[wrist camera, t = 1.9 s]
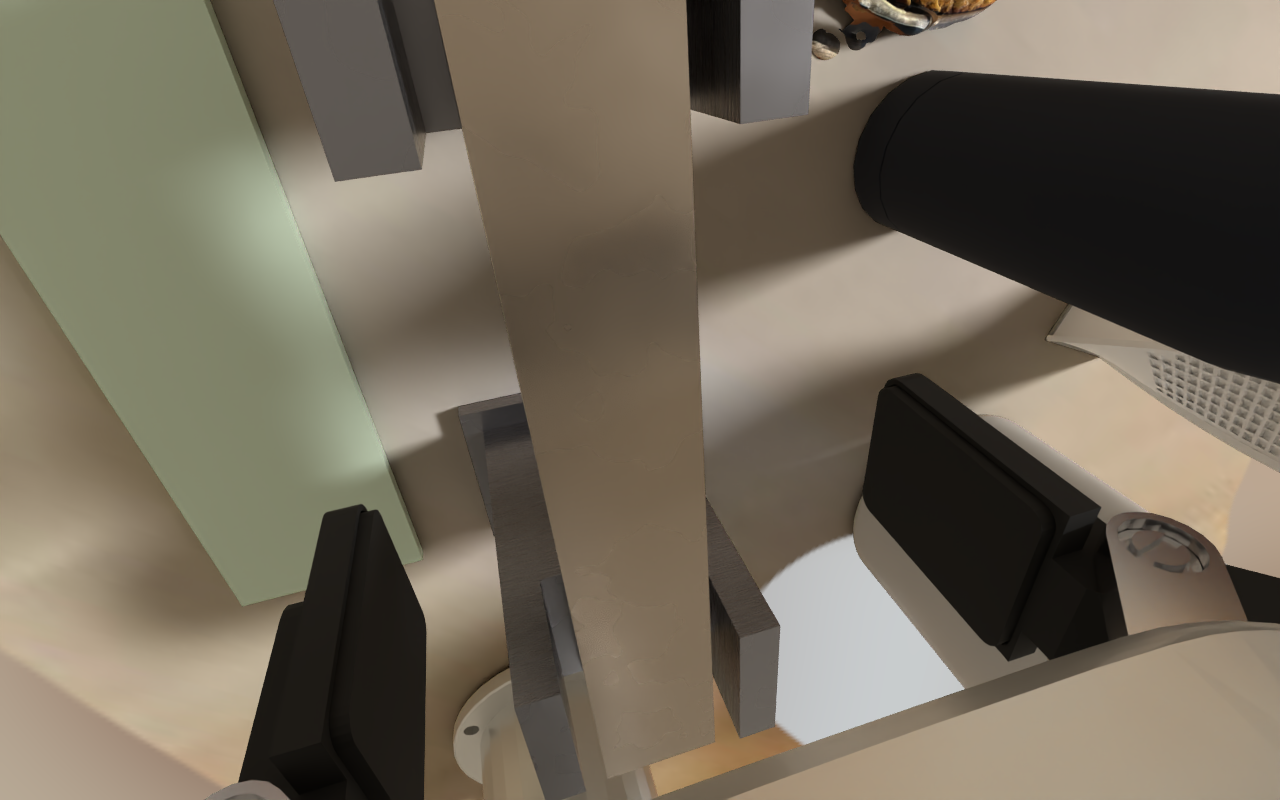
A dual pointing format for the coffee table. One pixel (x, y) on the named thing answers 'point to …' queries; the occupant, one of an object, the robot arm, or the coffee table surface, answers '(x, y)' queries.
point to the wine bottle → (1096, 199)
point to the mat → (185, 278)
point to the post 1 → (423, 94)
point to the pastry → (894, 20)
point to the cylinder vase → (930, 607)
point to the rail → (602, 331)
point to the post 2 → (544, 617)
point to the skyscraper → (1183, 383)
